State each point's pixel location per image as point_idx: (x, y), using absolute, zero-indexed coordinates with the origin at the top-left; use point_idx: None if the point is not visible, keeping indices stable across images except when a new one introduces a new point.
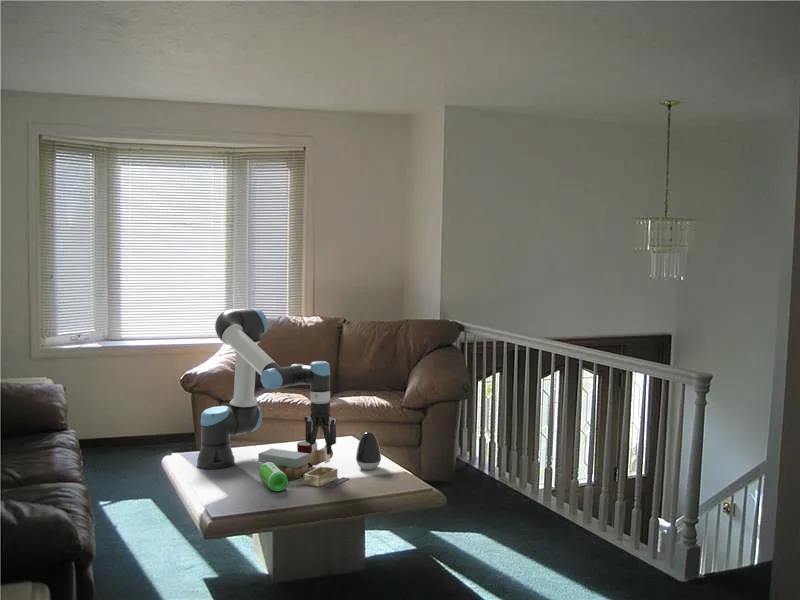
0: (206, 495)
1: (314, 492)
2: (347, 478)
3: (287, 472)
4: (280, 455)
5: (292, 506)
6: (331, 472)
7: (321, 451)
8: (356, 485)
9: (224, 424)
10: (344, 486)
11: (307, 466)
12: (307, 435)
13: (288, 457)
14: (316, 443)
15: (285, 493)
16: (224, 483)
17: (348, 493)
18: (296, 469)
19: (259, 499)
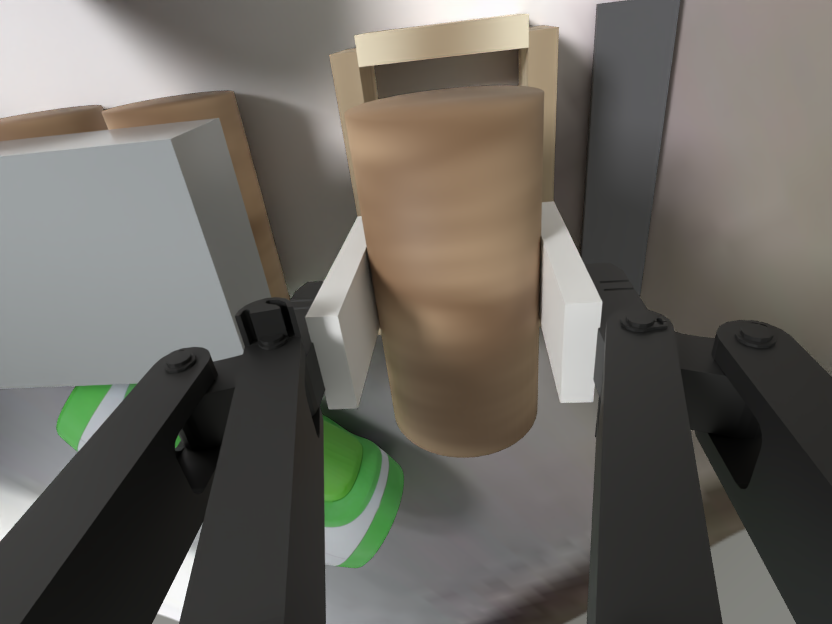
0: None
1: None
2: (667, 15)
3: None
4: (30, 353)
5: (573, 564)
6: (552, 160)
7: (500, 355)
8: (815, 136)
9: None
10: (715, 211)
11: (224, 122)
12: (188, 526)
13: (147, 370)
14: (329, 322)
15: (424, 467)
16: (52, 476)
17: (802, 324)
18: None
19: (379, 555)
